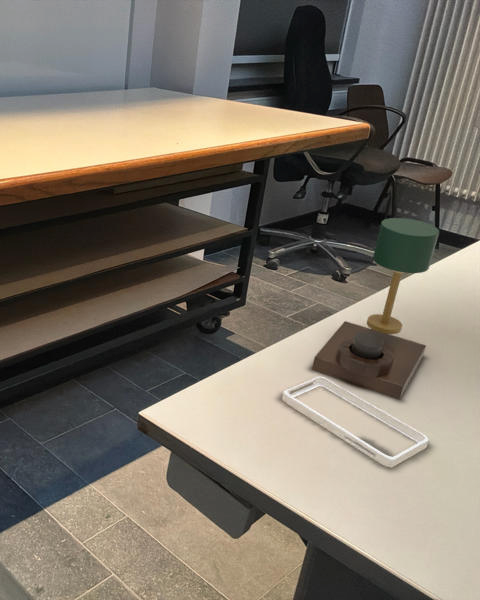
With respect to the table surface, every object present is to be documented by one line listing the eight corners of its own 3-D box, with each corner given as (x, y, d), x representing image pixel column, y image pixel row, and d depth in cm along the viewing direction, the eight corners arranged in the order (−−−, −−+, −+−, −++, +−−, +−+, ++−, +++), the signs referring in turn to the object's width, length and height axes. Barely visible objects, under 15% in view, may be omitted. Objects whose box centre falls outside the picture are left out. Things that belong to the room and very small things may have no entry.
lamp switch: (383, 352, 87) (387, 338, 86) (376, 364, 84) (380, 349, 83) (355, 343, 89) (358, 330, 88) (347, 354, 86) (350, 340, 85)
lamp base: (422, 359, 93) (429, 333, 91) (397, 404, 83) (405, 376, 81) (341, 334, 99) (347, 309, 97) (309, 373, 88) (315, 347, 87)
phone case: (428, 448, 75) (318, 383, 86) (431, 438, 75) (320, 374, 86) (388, 470, 71) (279, 400, 83) (391, 460, 71) (281, 391, 82)
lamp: (415, 325, 93) (444, 225, 87) (403, 344, 88) (433, 240, 82) (365, 310, 97) (388, 214, 90) (351, 328, 92) (375, 227, 85)
